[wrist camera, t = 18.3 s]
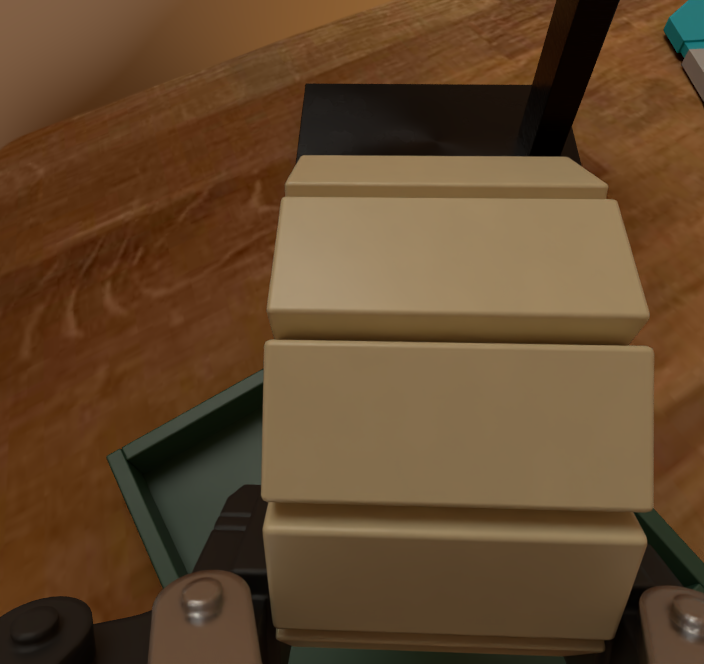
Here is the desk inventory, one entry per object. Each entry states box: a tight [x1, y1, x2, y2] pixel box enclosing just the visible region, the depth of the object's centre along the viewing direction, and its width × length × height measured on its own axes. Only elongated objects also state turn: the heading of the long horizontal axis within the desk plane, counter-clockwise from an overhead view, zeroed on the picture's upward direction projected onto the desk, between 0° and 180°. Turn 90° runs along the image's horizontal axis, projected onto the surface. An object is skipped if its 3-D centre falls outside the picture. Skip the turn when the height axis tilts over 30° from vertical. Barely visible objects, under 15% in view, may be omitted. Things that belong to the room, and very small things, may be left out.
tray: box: [106, 369, 704, 664], centre depth 20 cm, size 15×15×2 cm
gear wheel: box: [261, 155, 654, 656], centre depth 11 cm, size 4×8×8 cm, turn 178°
